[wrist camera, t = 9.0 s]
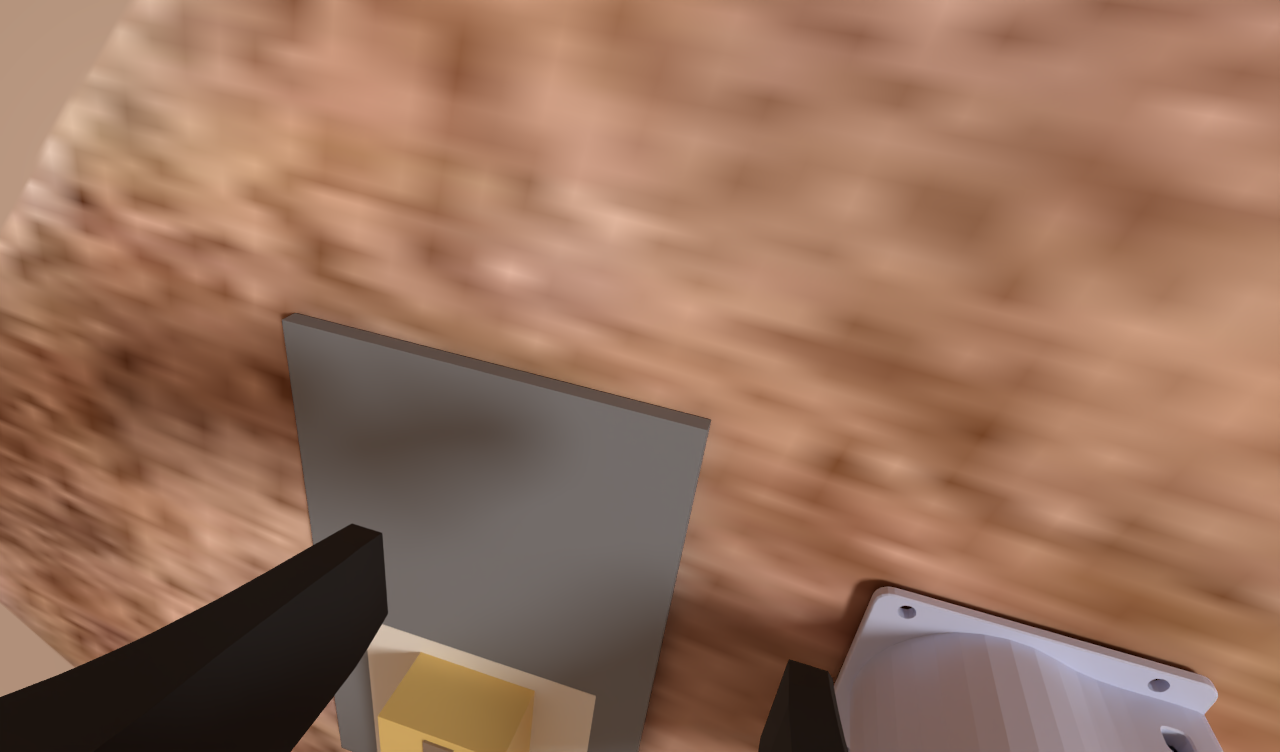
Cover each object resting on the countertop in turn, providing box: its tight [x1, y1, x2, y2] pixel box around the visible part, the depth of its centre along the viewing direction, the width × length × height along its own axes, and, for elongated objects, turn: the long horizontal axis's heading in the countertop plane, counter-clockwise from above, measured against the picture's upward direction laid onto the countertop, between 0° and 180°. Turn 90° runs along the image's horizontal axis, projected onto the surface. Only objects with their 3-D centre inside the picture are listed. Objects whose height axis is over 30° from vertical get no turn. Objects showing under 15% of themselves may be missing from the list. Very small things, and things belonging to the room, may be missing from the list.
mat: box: [282, 313, 711, 752], centre depth 26 cm, size 14×23×1 cm, turn 172°
